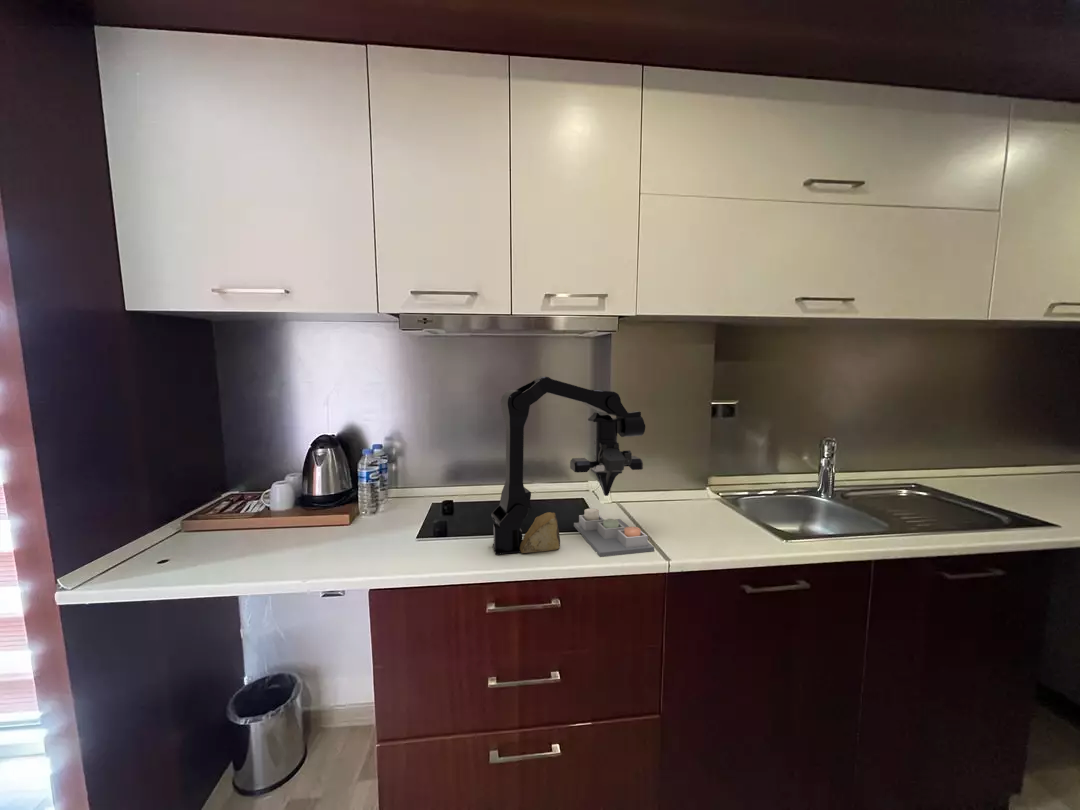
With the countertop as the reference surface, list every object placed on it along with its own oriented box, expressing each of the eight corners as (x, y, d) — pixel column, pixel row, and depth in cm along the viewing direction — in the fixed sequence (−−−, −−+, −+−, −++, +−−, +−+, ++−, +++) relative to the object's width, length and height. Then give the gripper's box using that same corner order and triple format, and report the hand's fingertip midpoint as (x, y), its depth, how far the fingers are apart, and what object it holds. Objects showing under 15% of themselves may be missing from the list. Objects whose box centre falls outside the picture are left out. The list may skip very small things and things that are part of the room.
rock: (514, 549, 107) (556, 545, 106) (515, 513, 112) (555, 510, 111) (524, 560, 116) (562, 557, 115) (524, 527, 121) (561, 524, 120)
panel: (600, 556, 109) (600, 542, 108) (573, 526, 130) (573, 514, 130) (654, 551, 111) (654, 537, 111) (619, 522, 133) (619, 510, 133)
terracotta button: (628, 544, 112) (628, 532, 112) (621, 538, 116) (621, 527, 116) (643, 543, 113) (643, 531, 113) (636, 537, 117) (636, 525, 117)
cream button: (587, 524, 124) (587, 513, 124) (582, 519, 128) (582, 509, 128) (600, 522, 125) (600, 512, 125) (596, 518, 129) (596, 507, 129)
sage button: (606, 535, 118) (606, 524, 118) (601, 530, 122) (601, 519, 122) (620, 534, 119) (620, 523, 119) (615, 529, 123) (615, 518, 123)
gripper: (580, 443, 112) (580, 506, 113) (652, 441, 115) (651, 501, 116) (569, 437, 123) (569, 494, 124) (635, 435, 126) (634, 490, 127)
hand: (606, 495), depth 122 cm, fingers closed
